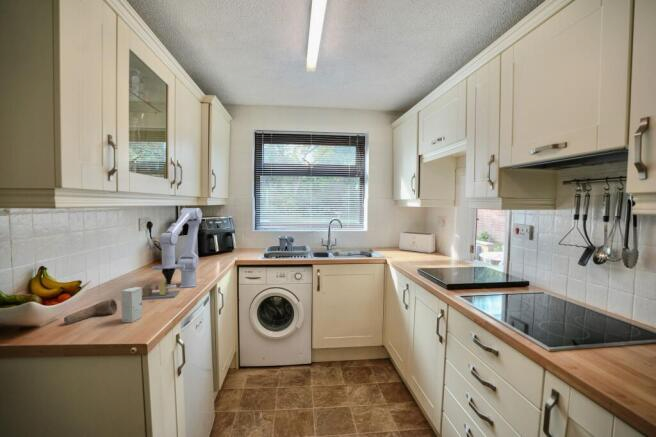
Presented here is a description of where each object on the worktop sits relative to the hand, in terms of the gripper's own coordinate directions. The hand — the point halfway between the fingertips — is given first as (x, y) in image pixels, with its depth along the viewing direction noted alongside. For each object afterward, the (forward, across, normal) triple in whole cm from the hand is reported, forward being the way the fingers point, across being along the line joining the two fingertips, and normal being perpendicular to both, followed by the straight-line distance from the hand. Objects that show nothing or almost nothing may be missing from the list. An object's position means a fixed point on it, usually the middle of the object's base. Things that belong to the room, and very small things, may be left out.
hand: (169, 283), depth 144 cm
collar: (+5, -2, 0) cm, 5 cm away
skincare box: (+6, -6, -31) cm, 32 cm away
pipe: (+6, -21, -25) cm, 33 cm away
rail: (+6, -4, 0) cm, 7 cm away
